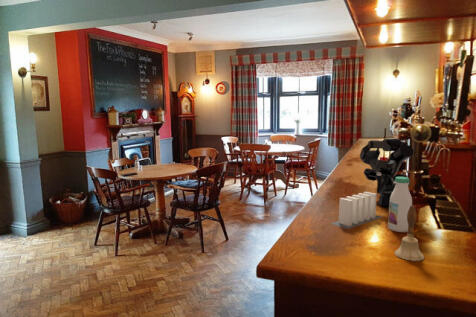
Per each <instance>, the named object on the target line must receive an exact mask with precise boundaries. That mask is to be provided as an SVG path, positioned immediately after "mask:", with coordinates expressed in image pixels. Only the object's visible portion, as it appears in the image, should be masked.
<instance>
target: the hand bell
mask: <svg viewBox="0 0 476 317" xmlns="http://www.w3.org/2000/svg"><path fill="white" fill-rule="evenodd" d="M416 220H417V211H416V207H415V205H412V206H410V208H409V210H408V213H407V222H408V232H406V233H407V234H406V236H404V237H402V238H401V242H400V246H399V247H398V249H396V250H395V251H394V255H395V256H396V257H397V258H398V259H401V258H402V260H404V259H405V261H409V260H410V261H411V262H420V261H423V260H424V259H425V255H424V254H423V253H422V251H420V246H419V240H418V239H417V238H416V237H414V231H415V230H414V226H415V223H416Z"/></svg>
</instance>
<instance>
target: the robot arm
mask: <svg viewBox="0 0 476 317" xmlns="http://www.w3.org/2000/svg"><path fill="white" fill-rule="evenodd" d="M374 149H376V150H374ZM380 149H382V151H384V152H391V153H390V154H389V156H388V157H387V159H386V160H383V159H379V158H380V155H381V151H380ZM414 154H415V150H414V148H413V147H412V146H411V145H409V144H408V141H407V142H403V141H402V140H401V138H385V139H384V138H383V140H378V139H377V140H376V139H375V140H374V139H373V140H372V139H371V140H368V142H367V144H366V145H364V146H363V147H362V148H361V150H360V153H359V159H360V161H362V162H363V164H366V165H368V166H369V167H370V168H365V169H364V170H363V174H364V177H366V179H367V180H368V181H372V182H375V181H376V182H377V183H376V184H377V186H376V194H378V195H379V196H378V203H377V206H380V207H382V208H383V209H389V203H390V197H391V194H392V192H393V190H394V188H395V186H396V183H395V178H396V177H407V178H409V177H408V174H404V173H400V167H401V164H402V163H404V162H405V161H407V160H408V159H410V158H412V157H413V156H414ZM410 185H411V181H410V180H409V184H408V188H409V187H410Z"/></svg>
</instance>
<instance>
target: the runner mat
mask: <svg viewBox="0 0 476 317" xmlns="http://www.w3.org/2000/svg"><path fill="white" fill-rule="evenodd" d="M382 218H383V216H382V215H377V214H376V216H375V218H371V217H370V219H369V220H365V219H364V222H360V221H358V224H354V223H352V226H347V225H344V224H340V223H339V220H337V221H335V222H331V223H330V224H331V225H334V226H336V227H340V228H342V229H346V230H349V229H353V228H355V227H358V226H361V225H364V224H367V223H369V222H373V221H375V220H378V219H382Z"/></svg>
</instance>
